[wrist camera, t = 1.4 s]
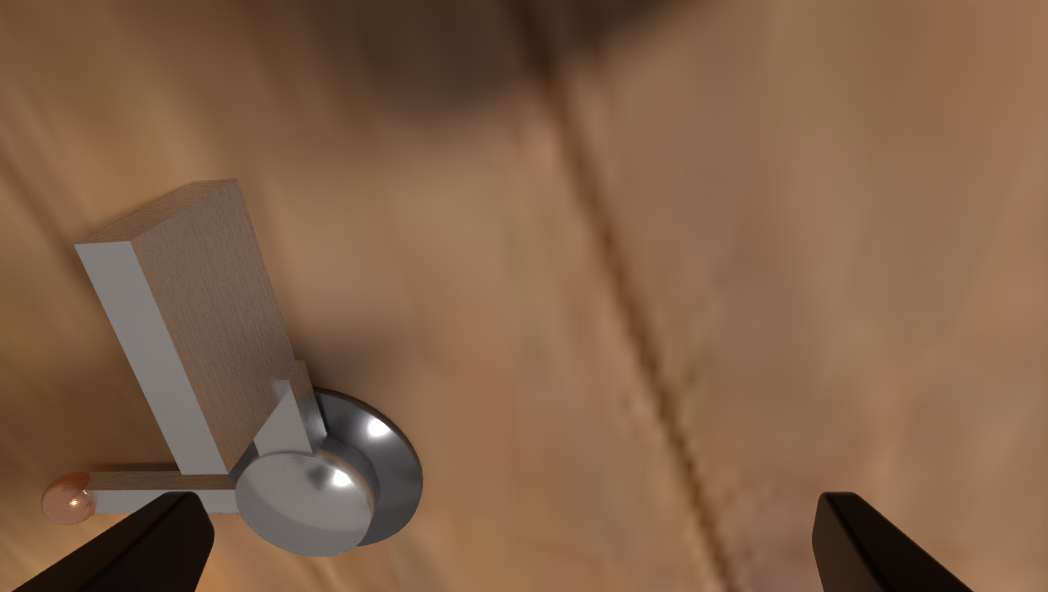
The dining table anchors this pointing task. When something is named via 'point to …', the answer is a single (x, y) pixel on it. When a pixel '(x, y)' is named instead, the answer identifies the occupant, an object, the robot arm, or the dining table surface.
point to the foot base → (371, 458)
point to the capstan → (217, 380)
